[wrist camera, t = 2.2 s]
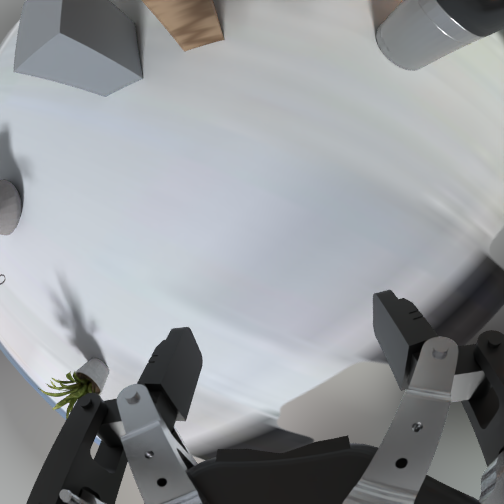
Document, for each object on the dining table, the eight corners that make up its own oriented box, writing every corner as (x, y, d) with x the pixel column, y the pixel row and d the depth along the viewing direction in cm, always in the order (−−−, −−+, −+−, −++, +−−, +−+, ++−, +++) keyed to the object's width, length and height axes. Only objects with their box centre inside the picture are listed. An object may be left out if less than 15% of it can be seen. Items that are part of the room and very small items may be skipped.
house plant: (62, 333, 47) (21, 376, 32) (107, 337, 46) (65, 391, 30) (86, 381, 51) (56, 426, 36) (131, 389, 50) (103, 442, 35)
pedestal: (134, 23, 28) (67, -32, 9) (143, 78, 32) (59, 32, 13) (99, 41, 29) (24, 2, 10) (105, 96, 32) (13, 71, 13)
